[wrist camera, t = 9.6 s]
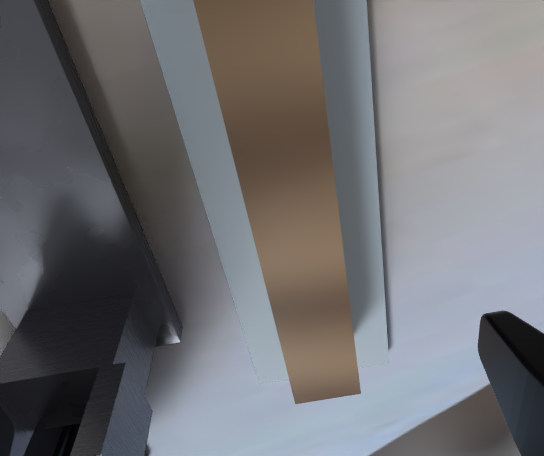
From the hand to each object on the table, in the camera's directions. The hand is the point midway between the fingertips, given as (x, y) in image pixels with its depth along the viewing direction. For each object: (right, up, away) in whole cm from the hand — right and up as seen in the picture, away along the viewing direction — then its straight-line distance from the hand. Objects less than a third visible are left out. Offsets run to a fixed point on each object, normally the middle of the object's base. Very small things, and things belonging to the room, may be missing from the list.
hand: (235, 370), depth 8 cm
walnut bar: (+1, +6, +8) cm, 10 cm away
